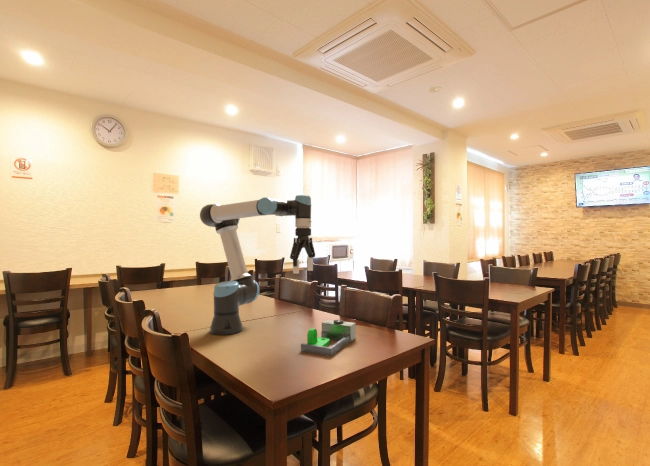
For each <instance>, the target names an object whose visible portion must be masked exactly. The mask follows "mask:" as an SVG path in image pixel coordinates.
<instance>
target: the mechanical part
mask: <svg viewBox="0 0 650 466" xmlns="http://www.w3.org/2000/svg"><path fill="white" fill-rule="evenodd" d="M306 338H307V339H306V340H307V341H306V342H307V343H306V344H312V345H318V346H324V347H329V345H330V344H331V343H330V342H331V340H330V339H329V338H325V337H321V336H318V330H317V329H316V328H311V327H310V328H309V329H308V332H307V337H306Z"/></svg>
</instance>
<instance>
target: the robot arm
mask: <svg viewBox="0 0 650 466" xmlns="http://www.w3.org/2000/svg"><path fill="white" fill-rule="evenodd" d="M270 215H271V216H276V217H287V216H289V217H290V216H293V217H294V219H295V222H294V223H295V224H294V227H295V233H294V235H295V236H296V237H294V238H293V244H292V248H291V252H290V256H289V258H290V260H292V273H293V274H296V275H298V274H300V259H299V257H300V254H301V252H302V250H303V249H304V250H305V252H306V255H307V257H306V259H307V260H306V261H307V262H306V265H307V268H306V269H307V271H308V272H309V271H310V272H313V271H314V258H315V257H316V252H315V248H314V243H313V237H311V236H312V229H311V227H312V199H311V196H310V195H306V194H298V195H296V196H295V198H294V199H292V200H291V199H289V200H284V199H279V198H273V197H268V196H267V197H262V198H260V199H255V200H254V199H253V200H247V201H242V202H235V203H228V204H220V203H214V204H213V203H211V204H206V205H204V206H203V207H202V208H201V210H200V212H199V219H200V221H201V222H202V223H203V224H204V225H205V226H206V227H211V228H212V227H213V228H215V232H216V234H218V235H219V236H220V240H221V243H222V246H223V250H224V254H225V258H226V260H227V261H226V262H227V266H228V269H229V272H230V277H231V278H230V280H225V281H221V282H218V283H216V284H215V285H214V288H213V317H212V321H211V325H210V328H209V332H210V334H212V335H215V336H216V335H217V336H226V335H234V334H237V333H240V332H242V331H243V322H242V320H241V317H240V309H239V308H240V307H241V306H242V305H243V306H244V305H246V304H247V305H248V304H250V303H253V302H254V301H256V300H257V299H258V298H259V296H260V286H259V283H258V282H257V281H256V280H254V279H253V277H252V274H250V273H249V272H248V268H247V265H246V261H245V258H244V254H243V251H242V246H241V244H240V239H239V236H238V232H237V231H238V228H239V223H240V219H245V218H252V217H253V218H254V217H260V216H270ZM239 306H240V307H239Z"/></svg>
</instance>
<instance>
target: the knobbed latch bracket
mask: <svg viewBox="0 0 650 466" xmlns="http://www.w3.org/2000/svg"><path fill="white" fill-rule="evenodd" d="M356 325H357V324H356V322H351V321H344V320H343V319H334V320H333V319H326V320H324V321H322V322H321V333H320V334H321V336H320V337H325V338H329V339H330V341H333V342H335V343H334V344H332V345H331V346H327V347H324V346H318V345H312V344H307V343H306V342H304V343H303V342H301V343H300V352H301V353H309V354H313V355H320V356H326V357H333V356H334V355H335V354H337V353H338V352H339V351H341V350H342V349H343V348H345V347H346V346H347V345H349V344H350V343H352V342H353V341H355V340H356V337H357V335H356V330H357V329H356Z"/></svg>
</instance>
